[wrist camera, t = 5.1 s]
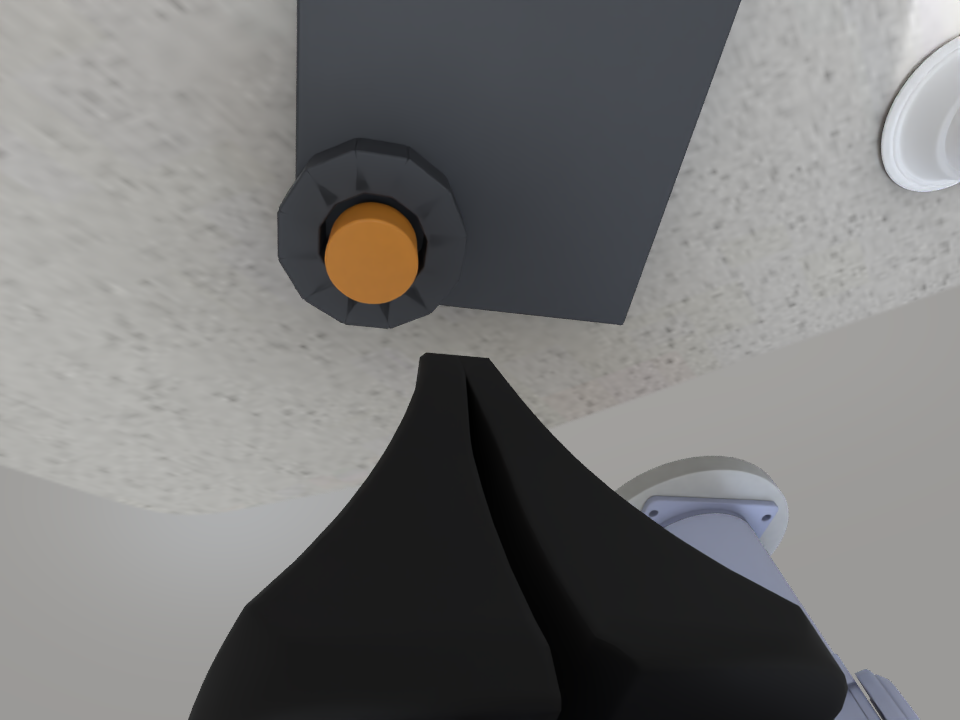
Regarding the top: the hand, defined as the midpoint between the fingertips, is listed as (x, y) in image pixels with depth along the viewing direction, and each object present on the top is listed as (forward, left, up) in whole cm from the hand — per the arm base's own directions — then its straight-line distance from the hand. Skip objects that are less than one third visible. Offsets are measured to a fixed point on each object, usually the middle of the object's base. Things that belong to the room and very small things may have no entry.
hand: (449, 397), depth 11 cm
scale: (+4, -2, -10) cm, 11 cm away
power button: (0, +2, -8) cm, 8 cm away
